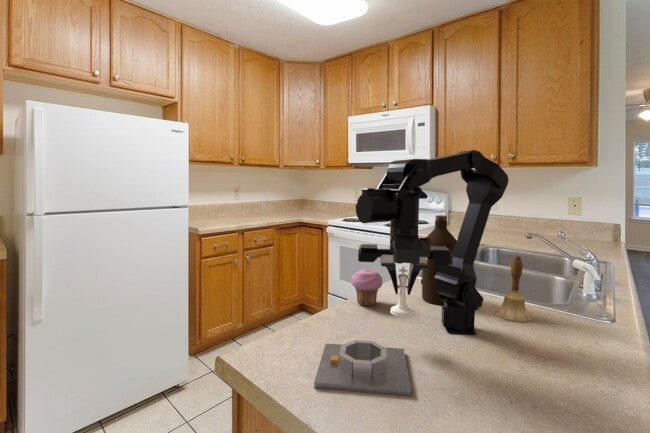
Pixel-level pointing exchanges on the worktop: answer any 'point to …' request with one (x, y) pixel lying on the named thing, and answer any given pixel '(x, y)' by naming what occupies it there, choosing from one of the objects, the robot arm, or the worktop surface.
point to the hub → (363, 368)
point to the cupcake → (366, 286)
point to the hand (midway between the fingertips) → (402, 294)
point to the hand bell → (514, 297)
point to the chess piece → (402, 298)
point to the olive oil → (438, 238)
